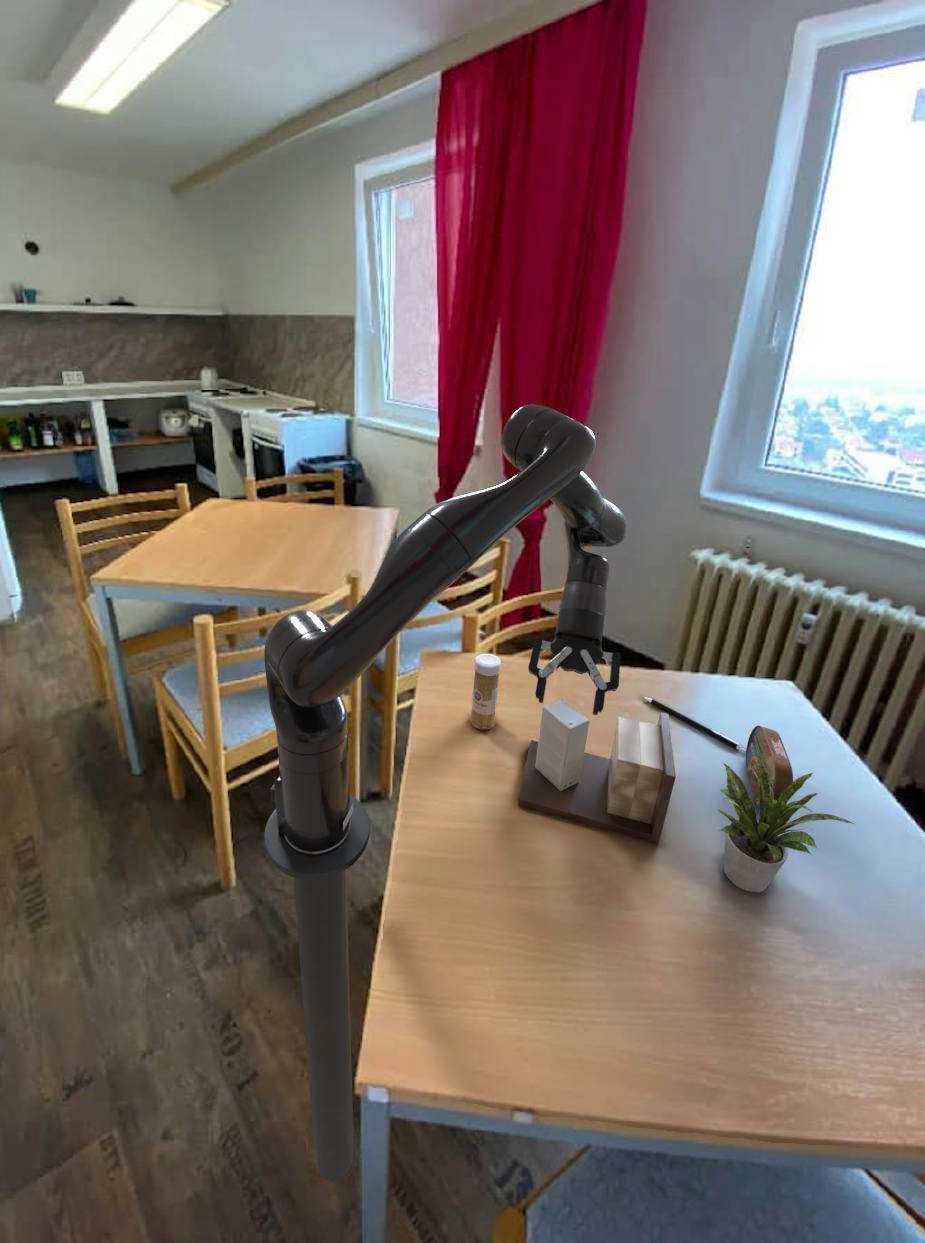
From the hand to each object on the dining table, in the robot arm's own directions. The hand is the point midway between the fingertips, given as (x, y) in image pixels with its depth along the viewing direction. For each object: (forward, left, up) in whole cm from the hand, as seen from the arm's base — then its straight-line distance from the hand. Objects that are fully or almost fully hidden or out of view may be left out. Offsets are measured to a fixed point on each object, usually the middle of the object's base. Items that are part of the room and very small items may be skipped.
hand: (567, 708), depth 94 cm
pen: (+22, +18, -11) cm, 30 cm away
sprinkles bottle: (-14, +5, -11) cm, 18 cm away
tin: (+31, +5, -11) cm, 33 cm away
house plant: (+27, -13, -11) cm, 32 cm away
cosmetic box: (0, -5, -9) cm, 11 cm away
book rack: (+5, -5, -10) cm, 13 cm away
